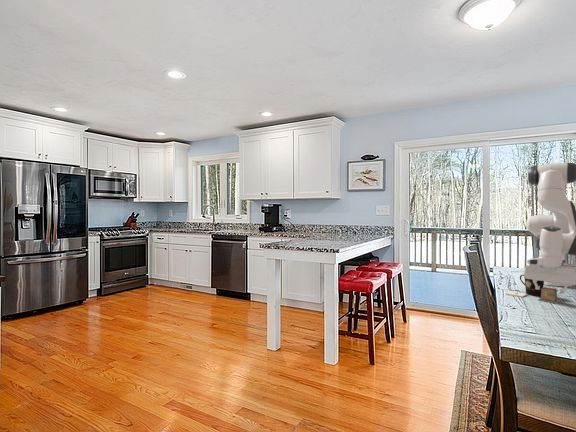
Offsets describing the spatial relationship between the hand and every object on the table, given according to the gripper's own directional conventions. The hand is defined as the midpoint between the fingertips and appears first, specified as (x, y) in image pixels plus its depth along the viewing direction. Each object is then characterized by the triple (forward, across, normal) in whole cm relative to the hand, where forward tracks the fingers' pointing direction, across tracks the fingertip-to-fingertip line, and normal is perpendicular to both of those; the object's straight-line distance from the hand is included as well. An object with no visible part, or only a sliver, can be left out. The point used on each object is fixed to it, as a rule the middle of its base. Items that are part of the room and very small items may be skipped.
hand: (549, 291), depth 165 cm
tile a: (+4, 0, 0) cm, 4 cm away
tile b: (+4, +14, 0) cm, 14 cm away
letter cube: (+4, 0, +1) cm, 4 cm away
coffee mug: (+5, +9, -9) cm, 13 cm away
